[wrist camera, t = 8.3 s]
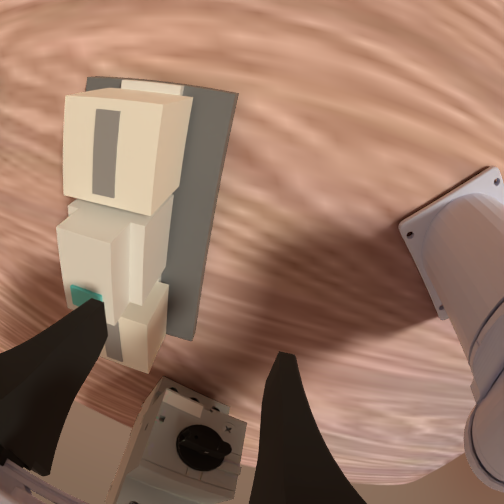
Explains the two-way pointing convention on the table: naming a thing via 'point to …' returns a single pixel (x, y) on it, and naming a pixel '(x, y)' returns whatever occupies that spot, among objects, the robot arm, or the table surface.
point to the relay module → (112, 254)
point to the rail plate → (192, 199)
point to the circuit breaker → (179, 451)
